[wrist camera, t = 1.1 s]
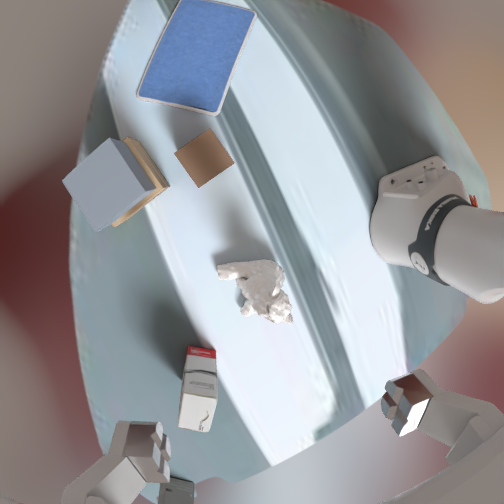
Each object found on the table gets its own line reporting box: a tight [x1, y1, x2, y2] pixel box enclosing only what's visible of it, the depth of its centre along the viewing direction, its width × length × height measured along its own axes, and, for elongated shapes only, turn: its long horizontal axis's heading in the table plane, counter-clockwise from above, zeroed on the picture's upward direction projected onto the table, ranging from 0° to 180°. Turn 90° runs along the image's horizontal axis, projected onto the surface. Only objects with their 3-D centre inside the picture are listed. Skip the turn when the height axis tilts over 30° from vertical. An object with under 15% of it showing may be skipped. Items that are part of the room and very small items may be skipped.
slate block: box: [62, 137, 157, 232], centre depth 28 cm, size 7×7×6 cm
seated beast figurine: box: [217, 259, 293, 324], centre depth 37 cm, size 10×9×12 cm
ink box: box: [178, 346, 218, 432], centre depth 40 cm, size 8×5×12 cm, turn 166°
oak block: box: [112, 137, 170, 227], centre depth 34 cm, size 8×8×6 cm
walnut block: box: [174, 128, 234, 188], centre depth 34 cm, size 5×5×7 cm
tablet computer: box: [137, 0, 257, 116], centre depth 33 cm, size 19×13×1 cm, turn 163°
